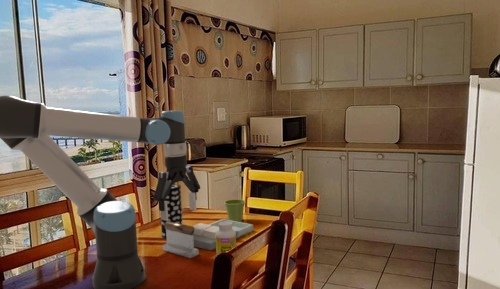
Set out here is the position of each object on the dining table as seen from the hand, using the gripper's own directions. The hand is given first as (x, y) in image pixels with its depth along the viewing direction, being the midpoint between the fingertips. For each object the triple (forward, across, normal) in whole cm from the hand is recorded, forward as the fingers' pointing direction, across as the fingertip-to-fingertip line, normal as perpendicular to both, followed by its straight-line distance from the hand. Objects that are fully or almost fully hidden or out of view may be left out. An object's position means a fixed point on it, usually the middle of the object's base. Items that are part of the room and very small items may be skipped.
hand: (179, 214), depth 146 cm
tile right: (+11, +14, -3) cm, 18 cm away
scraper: (+14, 0, 0) cm, 14 cm away
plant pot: (+14, +40, +7) cm, 43 cm away
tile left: (+11, +14, +4) cm, 18 cm away
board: (+14, +14, 0) cm, 20 cm away
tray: (+14, +28, 0) cm, 31 cm away
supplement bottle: (+14, +2, -19) cm, 24 cm away
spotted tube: (+14, +10, +16) cm, 24 cm away
